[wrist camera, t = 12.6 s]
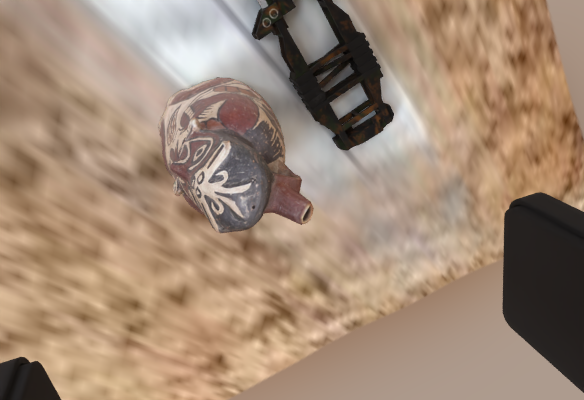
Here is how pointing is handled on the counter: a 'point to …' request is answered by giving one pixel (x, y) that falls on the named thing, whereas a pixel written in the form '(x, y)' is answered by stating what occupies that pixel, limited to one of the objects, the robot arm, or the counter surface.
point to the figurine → (229, 156)
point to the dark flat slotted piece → (304, 76)
